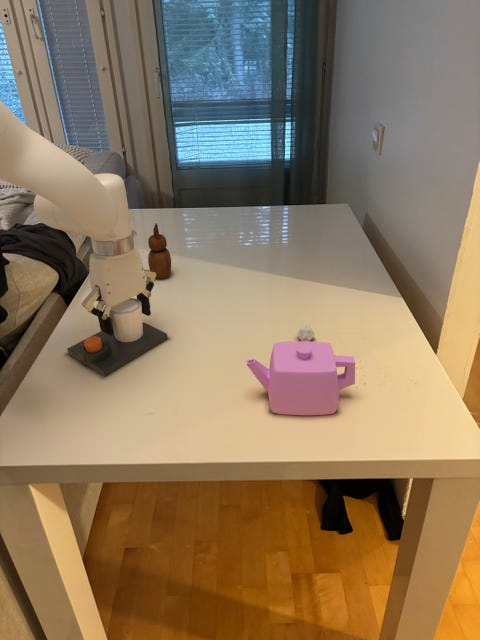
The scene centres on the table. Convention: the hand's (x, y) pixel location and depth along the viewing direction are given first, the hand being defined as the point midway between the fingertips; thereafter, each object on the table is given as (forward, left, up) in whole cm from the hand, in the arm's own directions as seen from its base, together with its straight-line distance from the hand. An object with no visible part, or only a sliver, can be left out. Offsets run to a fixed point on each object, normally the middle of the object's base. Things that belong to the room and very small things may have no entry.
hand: (127, 322), depth 95 cm
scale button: (-8, 0, -2) cm, 9 cm away
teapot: (+7, -38, -4) cm, 39 cm away
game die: (+22, -29, -4) cm, 37 cm away
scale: (-3, 0, -4) cm, 5 cm away
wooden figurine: (+25, +18, -5) cm, 31 cm away
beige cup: (0, 0, -3) cm, 3 cm away
